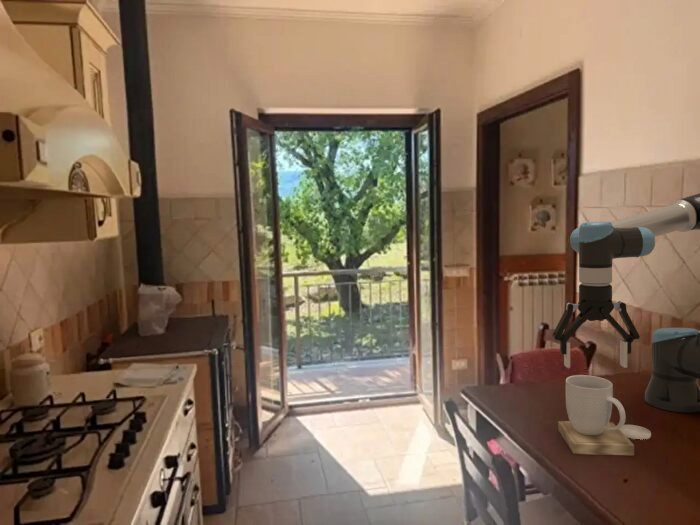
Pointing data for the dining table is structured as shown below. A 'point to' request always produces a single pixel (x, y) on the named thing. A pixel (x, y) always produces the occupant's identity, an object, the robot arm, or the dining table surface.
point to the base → (596, 441)
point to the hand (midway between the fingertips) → (595, 366)
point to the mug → (591, 404)
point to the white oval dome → (635, 432)
